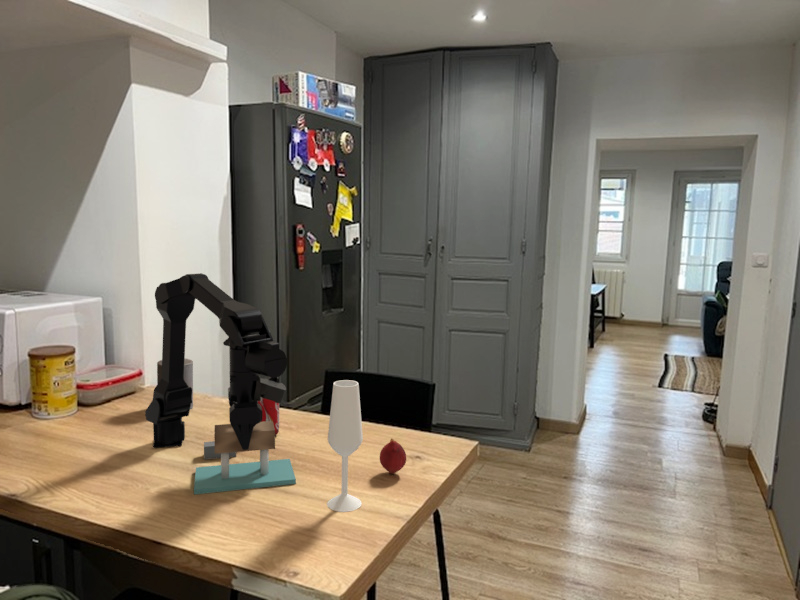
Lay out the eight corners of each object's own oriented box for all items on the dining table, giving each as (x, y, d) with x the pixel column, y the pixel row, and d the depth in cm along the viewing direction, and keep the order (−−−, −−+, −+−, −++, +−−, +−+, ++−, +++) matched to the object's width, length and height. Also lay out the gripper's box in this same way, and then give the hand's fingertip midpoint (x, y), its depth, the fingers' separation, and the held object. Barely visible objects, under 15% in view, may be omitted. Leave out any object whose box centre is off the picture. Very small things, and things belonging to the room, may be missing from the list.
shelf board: (214, 453, 119) (214, 434, 118) (215, 443, 125) (214, 425, 124) (275, 448, 122) (275, 430, 122) (272, 438, 128) (272, 420, 128)
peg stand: (194, 494, 116) (193, 460, 115) (196, 471, 127) (195, 440, 126) (295, 483, 122) (295, 451, 121) (289, 462, 133) (289, 433, 132)
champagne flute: (334, 514, 110) (335, 389, 107) (322, 499, 116) (323, 380, 112) (367, 507, 113) (369, 386, 110) (353, 493, 119) (355, 377, 116)
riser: (204, 459, 133) (203, 446, 133) (204, 454, 136) (204, 442, 136) (236, 456, 135) (235, 444, 135) (235, 451, 138) (235, 439, 138)
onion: (409, 470, 130) (410, 435, 129) (400, 481, 125) (401, 444, 124) (384, 466, 132) (385, 432, 131) (375, 476, 127) (376, 441, 126)
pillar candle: (150, 411, 165) (149, 359, 163) (169, 401, 175) (168, 352, 173) (182, 415, 164) (181, 362, 162) (200, 404, 173) (199, 354, 171)
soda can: (275, 440, 146) (275, 393, 144) (247, 439, 146) (247, 393, 144) (282, 430, 153) (282, 386, 151) (255, 430, 153) (254, 385, 151)
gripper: (288, 378, 115) (288, 454, 117) (279, 357, 133) (279, 423, 135) (229, 381, 112) (230, 460, 114) (227, 359, 129) (228, 427, 131)
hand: (244, 441), depth 123 cm, fingers open, 9 cm apart
